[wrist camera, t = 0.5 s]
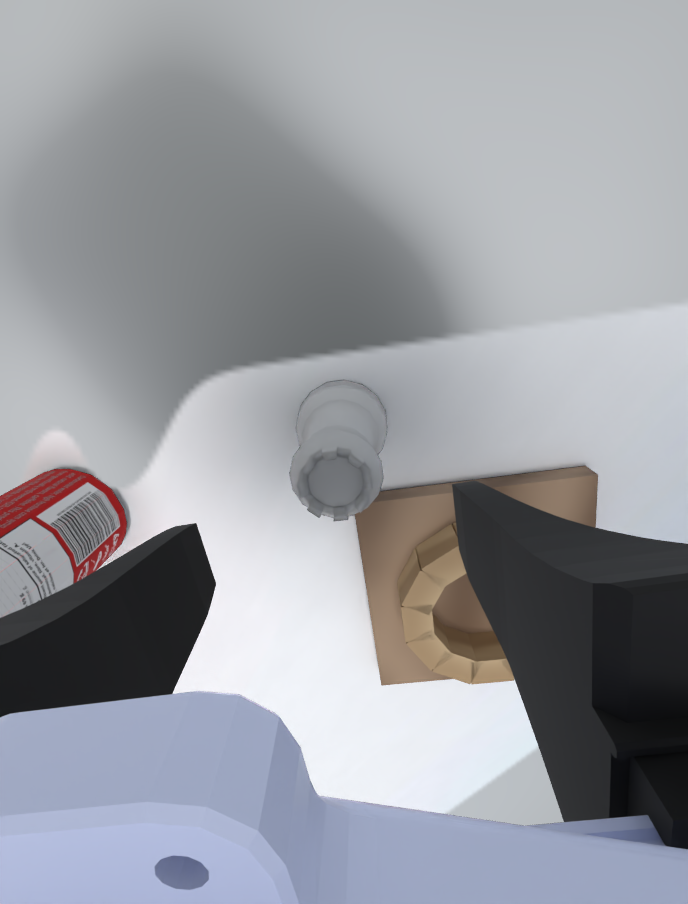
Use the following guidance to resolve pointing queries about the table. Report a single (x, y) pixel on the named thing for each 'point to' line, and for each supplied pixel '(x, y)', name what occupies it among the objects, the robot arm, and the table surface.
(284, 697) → the table surface
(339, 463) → the rook chess piece
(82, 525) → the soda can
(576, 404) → the table surface
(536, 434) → the table surface
